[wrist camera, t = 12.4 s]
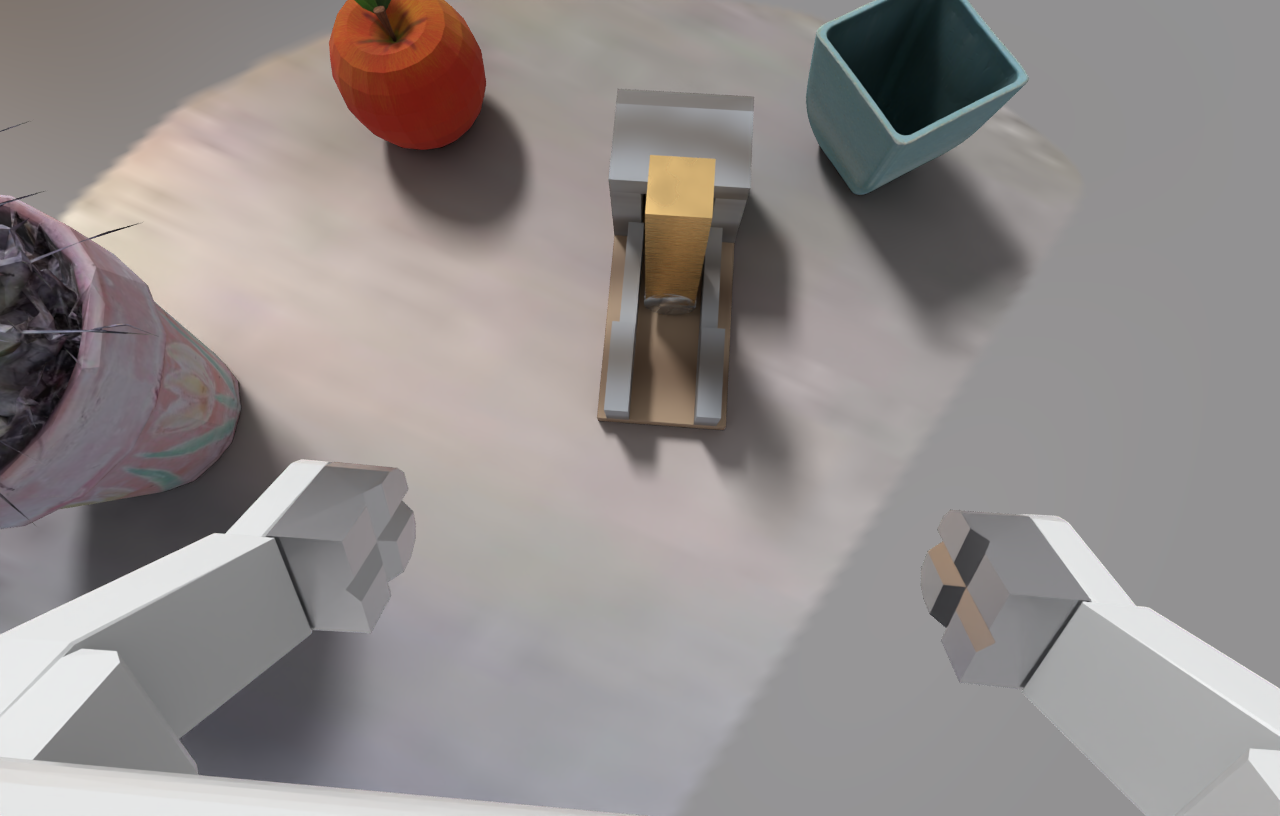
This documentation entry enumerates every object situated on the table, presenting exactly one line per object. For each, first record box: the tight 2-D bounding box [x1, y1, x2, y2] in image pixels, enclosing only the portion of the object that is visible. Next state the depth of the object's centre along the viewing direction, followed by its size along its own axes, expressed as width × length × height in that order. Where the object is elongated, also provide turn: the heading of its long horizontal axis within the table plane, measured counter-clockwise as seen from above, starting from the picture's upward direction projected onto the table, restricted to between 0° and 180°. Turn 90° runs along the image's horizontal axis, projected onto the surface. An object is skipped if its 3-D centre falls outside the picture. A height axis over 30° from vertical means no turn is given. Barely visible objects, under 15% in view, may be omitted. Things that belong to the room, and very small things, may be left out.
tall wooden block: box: [644, 155, 716, 315], centre depth 33 cm, size 10×3×12 cm, turn 176°
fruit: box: [329, 0, 486, 150], centre depth 37 cm, size 10×10×10 cm
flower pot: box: [806, 0, 1029, 195], centre depth 37 cm, size 9×9×9 cm
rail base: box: [597, 89, 754, 430], centre depth 36 cm, size 18×8×7 cm, turn 176°
